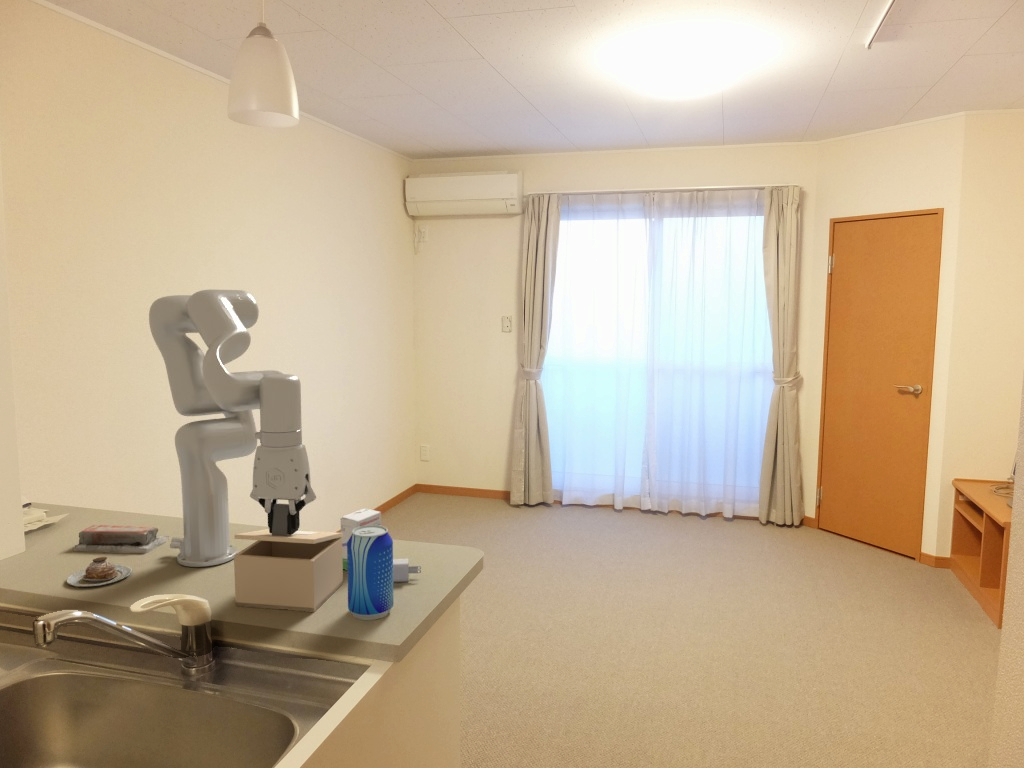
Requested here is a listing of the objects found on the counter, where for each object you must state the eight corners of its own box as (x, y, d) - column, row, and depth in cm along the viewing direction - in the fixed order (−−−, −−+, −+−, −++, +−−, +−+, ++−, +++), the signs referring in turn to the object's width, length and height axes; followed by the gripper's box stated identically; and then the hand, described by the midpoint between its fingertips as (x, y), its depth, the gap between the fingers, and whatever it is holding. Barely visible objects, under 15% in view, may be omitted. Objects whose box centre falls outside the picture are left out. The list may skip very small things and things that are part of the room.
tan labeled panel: (234, 538, 137) (237, 502, 137) (269, 532, 150) (272, 499, 151) (313, 543, 134) (316, 507, 135) (342, 536, 148) (344, 503, 149)
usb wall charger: (388, 576, 154) (388, 558, 153) (420, 575, 155) (420, 557, 154) (387, 583, 150) (387, 564, 149) (420, 582, 151) (420, 563, 150)
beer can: (361, 600, 141) (360, 521, 139) (400, 606, 138) (400, 525, 137) (339, 618, 133) (338, 534, 131) (380, 624, 130) (379, 539, 129)
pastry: (105, 593, 144) (104, 571, 144) (52, 589, 146) (51, 567, 146) (144, 571, 156) (143, 551, 156) (95, 567, 158) (93, 547, 157)
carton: (235, 606, 138) (233, 555, 137) (270, 578, 151) (269, 532, 150) (314, 612, 135) (313, 561, 134) (342, 583, 149) (342, 537, 148)
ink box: (358, 573, 155) (357, 520, 154) (340, 569, 157) (339, 517, 156) (382, 561, 162) (382, 510, 161) (365, 557, 165) (364, 507, 163)
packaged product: (70, 533, 166) (98, 520, 176) (72, 553, 167) (99, 539, 177) (145, 535, 165) (169, 522, 175) (147, 555, 166) (169, 541, 176)
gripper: (231, 440, 135) (234, 535, 137) (313, 444, 132) (315, 540, 134) (251, 433, 142) (254, 523, 144) (329, 437, 140) (331, 528, 142)
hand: (283, 531), depth 139 cm, fingers closed on tan labeled panel, 3 cm apart
